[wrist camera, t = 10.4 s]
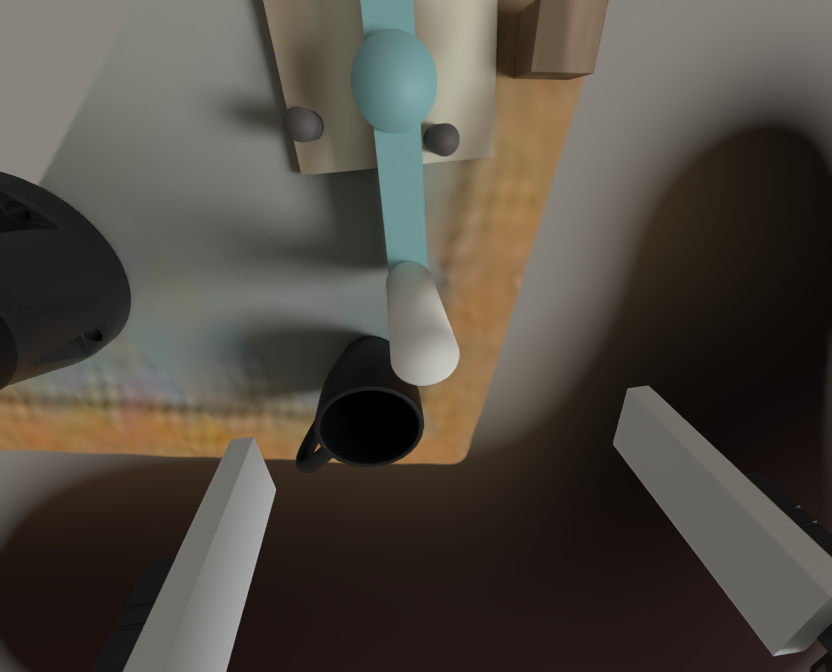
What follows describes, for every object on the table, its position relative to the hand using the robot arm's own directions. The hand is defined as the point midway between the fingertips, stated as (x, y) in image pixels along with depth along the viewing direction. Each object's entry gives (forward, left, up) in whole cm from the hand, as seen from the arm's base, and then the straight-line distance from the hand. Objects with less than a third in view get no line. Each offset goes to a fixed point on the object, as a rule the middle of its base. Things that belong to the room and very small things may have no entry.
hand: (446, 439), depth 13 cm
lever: (0, +9, -18) cm, 20 cm away
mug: (-6, -11, -21) cm, 24 cm away
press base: (0, +13, -21) cm, 24 cm away
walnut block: (+9, +14, -19) cm, 25 cm away
